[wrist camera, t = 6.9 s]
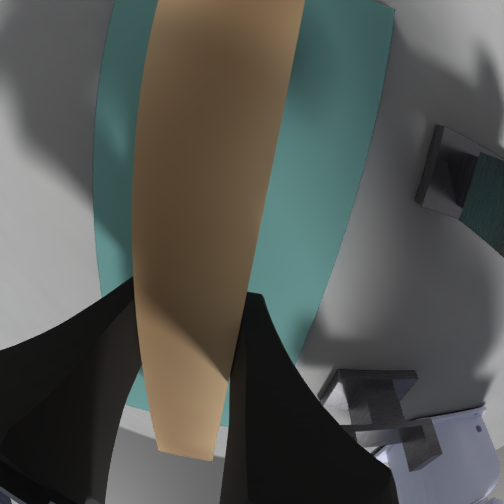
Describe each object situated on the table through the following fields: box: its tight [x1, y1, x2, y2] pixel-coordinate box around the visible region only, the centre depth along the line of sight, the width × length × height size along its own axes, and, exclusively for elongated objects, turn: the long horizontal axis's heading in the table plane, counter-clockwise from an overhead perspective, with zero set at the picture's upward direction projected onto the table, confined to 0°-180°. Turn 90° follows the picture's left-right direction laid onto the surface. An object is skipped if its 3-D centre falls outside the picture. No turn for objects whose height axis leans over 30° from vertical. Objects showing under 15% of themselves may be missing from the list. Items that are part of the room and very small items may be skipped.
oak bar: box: [132, 0, 305, 461], centre depth 9 cm, size 3×18×3 cm, turn 170°
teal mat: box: [93, 0, 395, 427], centre depth 11 cm, size 9×22×1 cm, turn 170°
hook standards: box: [320, 125, 504, 472], centre depth 9 cm, size 6×15×6 cm, turn 170°
